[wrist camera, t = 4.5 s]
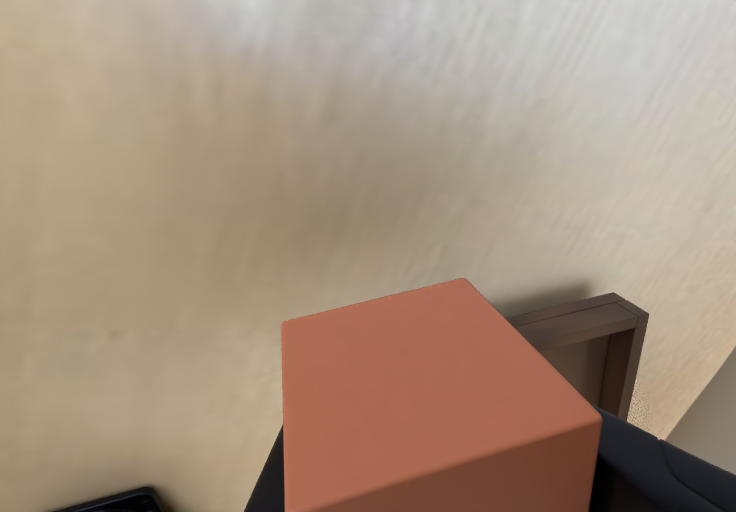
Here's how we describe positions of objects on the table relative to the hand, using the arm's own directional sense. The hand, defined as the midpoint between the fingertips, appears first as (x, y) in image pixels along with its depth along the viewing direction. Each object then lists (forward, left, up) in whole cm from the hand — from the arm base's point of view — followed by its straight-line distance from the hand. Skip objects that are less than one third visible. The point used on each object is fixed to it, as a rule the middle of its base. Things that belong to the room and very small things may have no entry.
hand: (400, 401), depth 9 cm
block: (0, 0, -1) cm, 1 cm away
